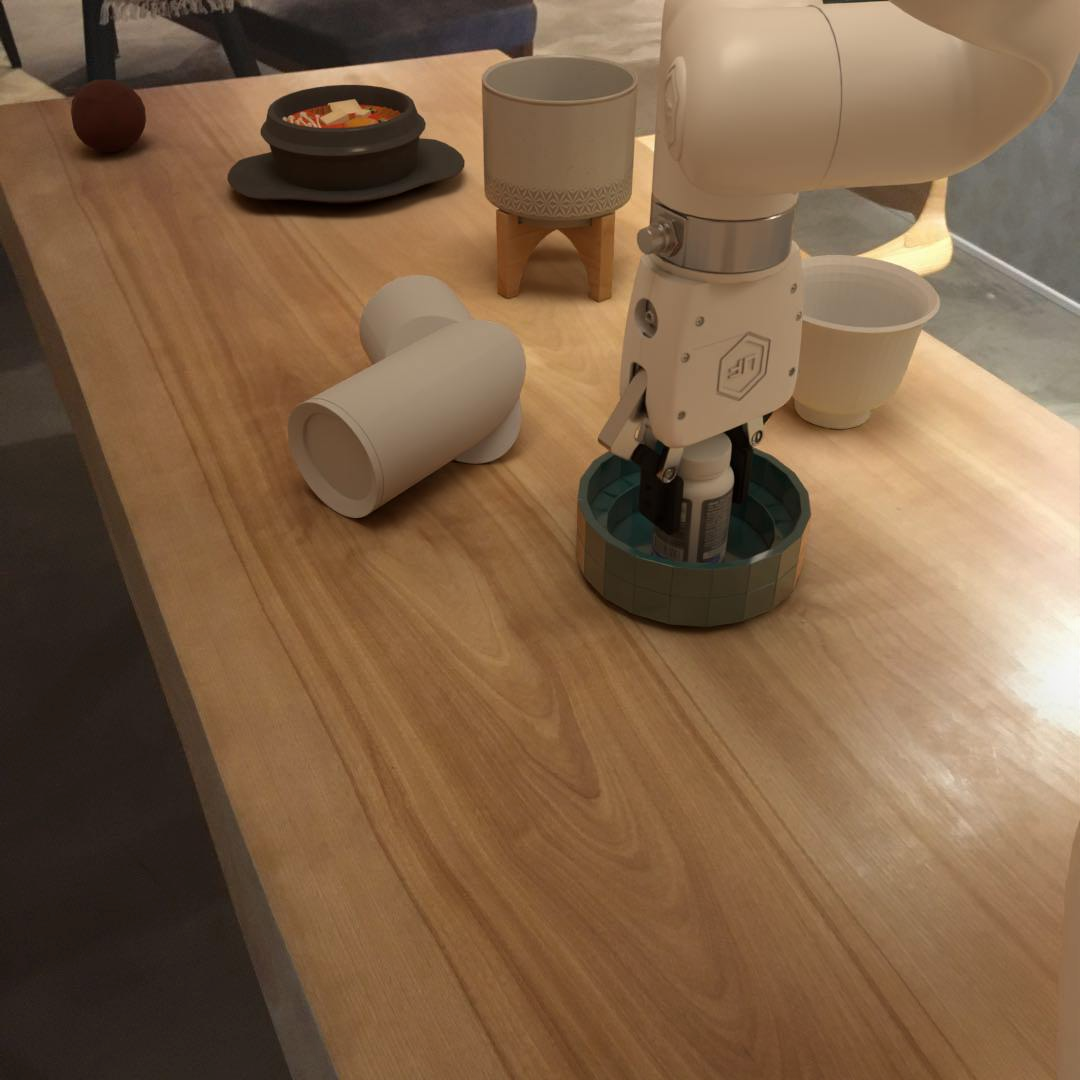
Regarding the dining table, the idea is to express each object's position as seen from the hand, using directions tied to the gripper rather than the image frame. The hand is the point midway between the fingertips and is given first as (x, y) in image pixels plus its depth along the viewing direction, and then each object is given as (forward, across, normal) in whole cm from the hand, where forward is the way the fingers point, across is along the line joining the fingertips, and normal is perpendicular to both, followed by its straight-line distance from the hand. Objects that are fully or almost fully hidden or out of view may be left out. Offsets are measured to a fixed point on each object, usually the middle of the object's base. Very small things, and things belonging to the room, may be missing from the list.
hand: (692, 505), depth 73 cm
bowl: (+4, 0, 0) cm, 4 cm away
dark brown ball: (+4, -5, +94) cm, 94 cm away
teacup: (+5, +20, +8) cm, 22 cm away
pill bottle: (+4, 0, 0) cm, 4 cm away
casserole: (+4, +12, +69) cm, 70 cm away
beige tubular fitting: (+4, -8, +22) cm, 24 cm away
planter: (+4, +18, +39) cm, 43 cm away
